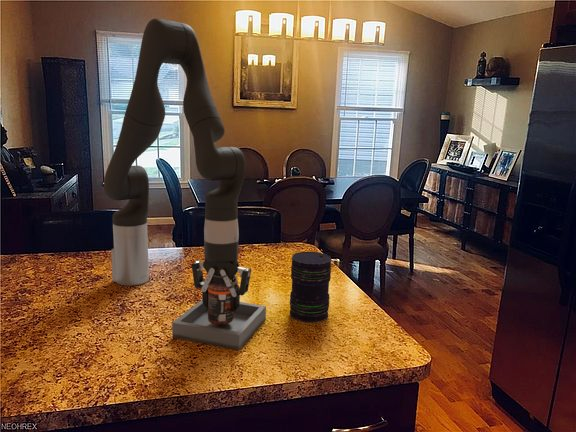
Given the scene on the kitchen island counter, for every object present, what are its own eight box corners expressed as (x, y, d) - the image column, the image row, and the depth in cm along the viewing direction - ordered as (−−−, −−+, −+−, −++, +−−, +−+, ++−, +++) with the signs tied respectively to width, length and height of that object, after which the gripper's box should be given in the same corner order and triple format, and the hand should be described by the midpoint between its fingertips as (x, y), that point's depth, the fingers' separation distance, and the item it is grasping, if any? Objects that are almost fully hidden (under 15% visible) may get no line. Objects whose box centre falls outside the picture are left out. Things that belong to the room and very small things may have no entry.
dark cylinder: (301, 325, 111) (303, 266, 108) (282, 310, 119) (284, 254, 116) (336, 318, 116) (339, 261, 112) (315, 303, 124) (318, 249, 121)
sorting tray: (172, 337, 103) (172, 322, 103) (206, 309, 118) (206, 296, 117) (239, 350, 99) (239, 335, 98) (265, 319, 114) (265, 306, 113)
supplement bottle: (229, 327, 105) (229, 279, 102) (203, 324, 106) (203, 277, 103) (237, 316, 110) (237, 271, 108) (213, 313, 112) (213, 268, 109)
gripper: (183, 238, 102) (184, 309, 106) (244, 246, 98) (243, 320, 102) (200, 230, 109) (200, 297, 113) (257, 237, 105) (256, 306, 109)
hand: (221, 307), depth 107 cm, fingers closed on supplement bottle, 6 cm apart
